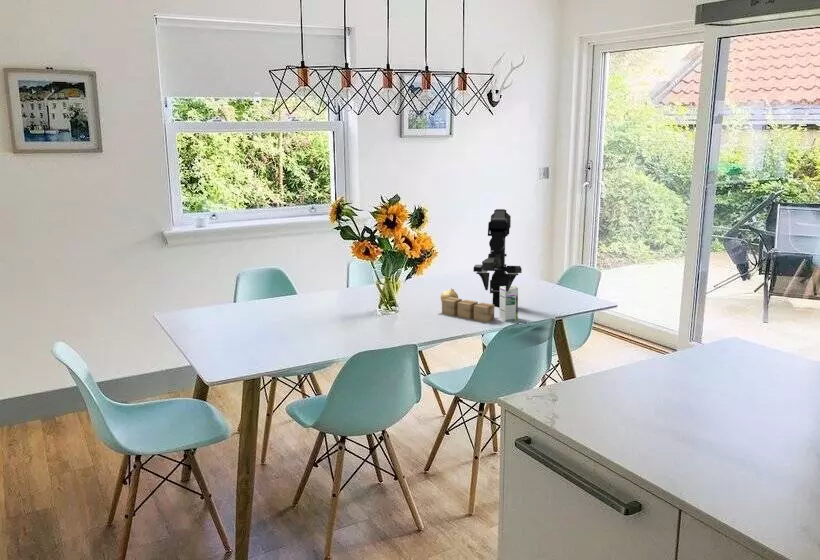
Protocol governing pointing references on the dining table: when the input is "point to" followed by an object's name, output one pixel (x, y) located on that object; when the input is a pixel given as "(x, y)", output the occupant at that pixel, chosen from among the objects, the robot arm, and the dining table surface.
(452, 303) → the tan cube
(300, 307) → the dining table surface
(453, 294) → the onion
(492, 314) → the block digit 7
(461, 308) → the block plain
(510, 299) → the syrup box
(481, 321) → the mat
